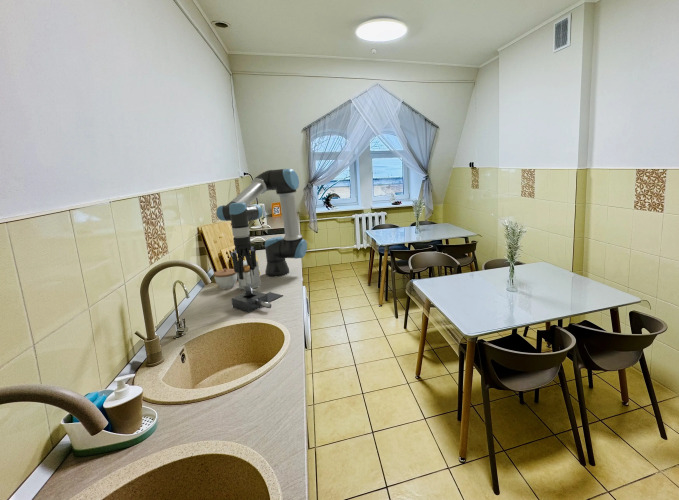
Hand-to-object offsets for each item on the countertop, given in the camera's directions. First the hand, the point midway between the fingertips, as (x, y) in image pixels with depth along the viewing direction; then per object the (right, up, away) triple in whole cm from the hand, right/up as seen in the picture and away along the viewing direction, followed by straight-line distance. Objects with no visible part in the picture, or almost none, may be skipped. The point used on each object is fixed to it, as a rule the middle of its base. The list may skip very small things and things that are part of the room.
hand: (247, 283), depth 156 cm
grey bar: (0, -5, +1) cm, 5 cm away
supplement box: (-7, -5, +30) cm, 31 cm away
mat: (+8, -8, +12) cm, 17 cm away
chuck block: (+4, -11, 0) cm, 12 cm away
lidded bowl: (-21, -5, +33) cm, 40 cm away
